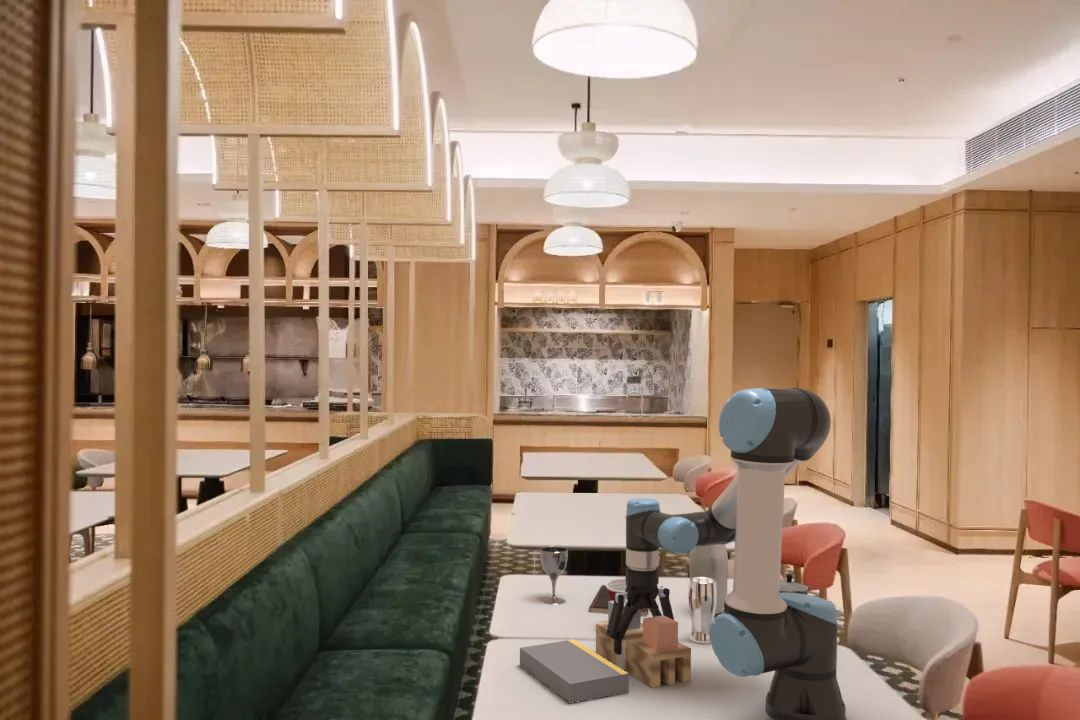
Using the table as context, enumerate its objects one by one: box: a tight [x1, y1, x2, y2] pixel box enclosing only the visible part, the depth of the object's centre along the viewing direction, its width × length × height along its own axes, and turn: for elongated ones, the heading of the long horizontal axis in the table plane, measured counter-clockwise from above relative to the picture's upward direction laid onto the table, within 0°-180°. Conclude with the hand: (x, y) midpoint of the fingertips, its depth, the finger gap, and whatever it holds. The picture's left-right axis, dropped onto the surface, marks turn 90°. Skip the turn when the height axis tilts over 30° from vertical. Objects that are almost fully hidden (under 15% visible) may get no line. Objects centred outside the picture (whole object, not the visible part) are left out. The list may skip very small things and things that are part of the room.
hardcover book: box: [588, 584, 649, 617], centre depth 246 cm, size 16×23×2 cm
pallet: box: [595, 621, 692, 689], centre depth 195 cm, size 24×10×7 cm, turn 26°
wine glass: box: [539, 545, 569, 605], centre depth 247 cm, size 8×8×15 cm
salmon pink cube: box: [642, 614, 679, 651], centre depth 188 cm, size 6×6×6 cm
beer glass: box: [687, 577, 717, 645], centre depth 214 cm, size 7×7×15 cm
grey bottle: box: [689, 544, 729, 616], centre depth 236 cm, size 10×10×28 cm
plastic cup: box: [604, 577, 627, 601], centre depth 221 cm, size 11×11×12 cm
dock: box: [519, 639, 630, 704], centre depth 187 cm, size 24×15×4 cm, turn 26°
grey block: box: [607, 599, 642, 630], centre depth 202 cm, size 6×6×6 cm
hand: (641, 664), depth 195 cm, fingers closed on pallet, 10 cm apart
